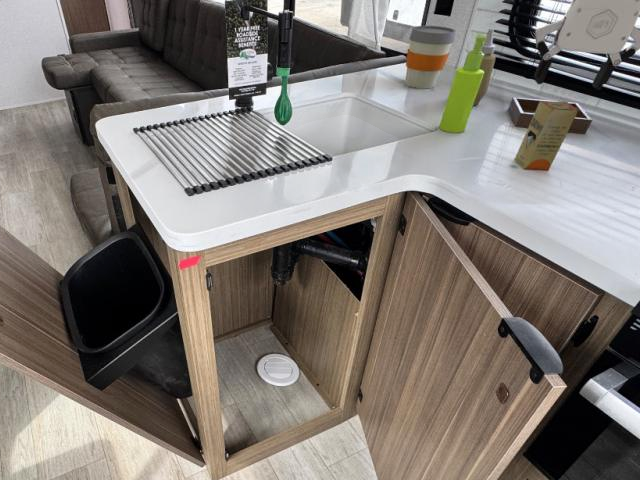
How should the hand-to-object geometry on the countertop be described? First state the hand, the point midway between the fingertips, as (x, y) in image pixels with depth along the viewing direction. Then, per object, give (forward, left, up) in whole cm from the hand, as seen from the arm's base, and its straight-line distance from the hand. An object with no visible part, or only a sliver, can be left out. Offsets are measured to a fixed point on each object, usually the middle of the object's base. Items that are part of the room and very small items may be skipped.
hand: (566, 85), depth 81 cm
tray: (-8, -31, -16) cm, 36 cm away
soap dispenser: (+15, -18, -16) cm, 28 cm away
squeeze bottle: (+10, -41, -16) cm, 45 cm away
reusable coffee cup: (+23, -56, -16) cm, 63 cm away
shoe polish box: (0, 0, -16) cm, 16 cm away
